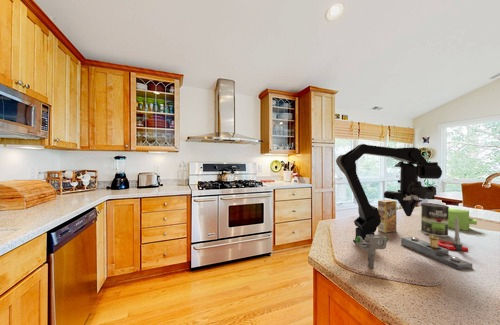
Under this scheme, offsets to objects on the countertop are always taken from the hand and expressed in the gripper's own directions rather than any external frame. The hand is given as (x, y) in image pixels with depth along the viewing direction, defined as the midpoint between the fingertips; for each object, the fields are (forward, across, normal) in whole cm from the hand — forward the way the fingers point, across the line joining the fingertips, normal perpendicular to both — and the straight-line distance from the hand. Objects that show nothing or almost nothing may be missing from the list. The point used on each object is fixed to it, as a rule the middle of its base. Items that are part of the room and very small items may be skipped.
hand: (408, 216), depth 84 cm
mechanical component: (+13, -28, -13) cm, 33 cm away
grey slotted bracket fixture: (+12, +2, -8) cm, 15 cm away
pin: (+12, +2, -8) cm, 15 cm away
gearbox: (+13, +51, +21) cm, 57 cm away
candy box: (+13, +8, +19) cm, 24 cm away
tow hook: (+13, +18, -2) cm, 22 cm away
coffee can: (+13, +29, +13) cm, 34 cm away
